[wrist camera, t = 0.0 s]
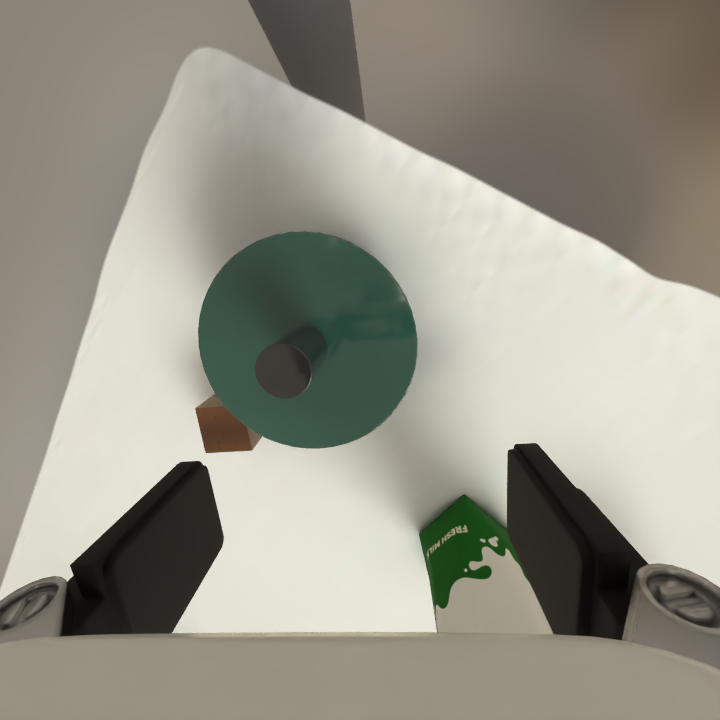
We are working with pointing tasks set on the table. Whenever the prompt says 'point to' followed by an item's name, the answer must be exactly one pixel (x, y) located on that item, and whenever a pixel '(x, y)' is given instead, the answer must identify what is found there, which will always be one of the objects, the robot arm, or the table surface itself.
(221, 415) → the block
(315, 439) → the lid
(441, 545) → the milk carton
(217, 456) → the table surface
